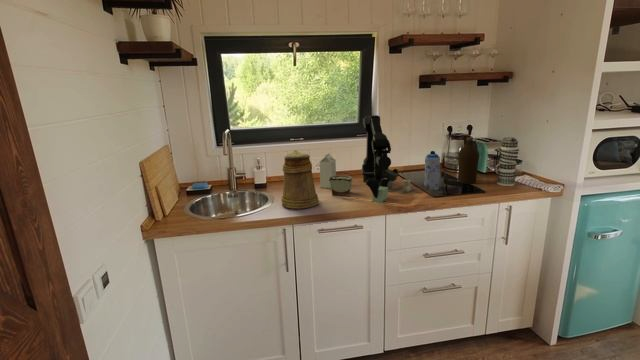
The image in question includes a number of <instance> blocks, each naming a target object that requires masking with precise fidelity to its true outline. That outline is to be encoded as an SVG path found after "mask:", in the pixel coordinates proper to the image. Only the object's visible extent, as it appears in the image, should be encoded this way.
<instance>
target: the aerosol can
mask: <svg viewBox="0 0 640 360" xmlns="http://www.w3.org/2000/svg"><path fill="white" fill-rule="evenodd" d="M440 166H441V157H440V156H439V154H437V153H436V151H434V150H431V151H430V153H428V154H427V155H426V156H425V158H424V182H423V183H424V184H423V185H424V186H425V187H428V188H426V190H428V189H430V190H431V191H435V190H439V189H440V187H439V186H440V170H441V168H440ZM430 190H429V191H430Z"/></svg>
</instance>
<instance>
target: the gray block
mask: <svg viewBox="0 0 640 360" xmlns="http://www.w3.org/2000/svg"><path fill="white" fill-rule="evenodd" d="M392 186H393V181H389V182H388V185H387V187H388V190H389V189H390V188H392Z"/></svg>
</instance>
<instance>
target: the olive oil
mask: <svg viewBox="0 0 640 360" xmlns="http://www.w3.org/2000/svg"><path fill="white" fill-rule="evenodd" d="M465 141H466V142H465V145H464V146H463V147H462V148H461V149H460V150H459V151H458V155H457V158H458V159H457V162H458V164H457V167H458V168H457V182H458V183H461V184H464V185H466V184H467V185H470V184H475V183H477V175H478V168H479V166H478V165H479V159H480V153H479V150H478V149H477V148H476V147H475V146H474V144H473V143H474V139H473V137H470V136H469V137H466V140H465Z"/></svg>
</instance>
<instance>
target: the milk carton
mask: <svg viewBox="0 0 640 360" xmlns="http://www.w3.org/2000/svg"><path fill="white" fill-rule="evenodd" d="M336 162H337V161H336V159H335V158H334V157H333V156H332V155H331V153H330V152H327V153H326V154H325V155H324V157H323V158H322V159H321V160H320V161H319V180H320V182H319V183H320V188H323V189H331V184H330V181H329V178H330V177H331V176H336V175H337V170H336V169H337V163H336Z"/></svg>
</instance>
